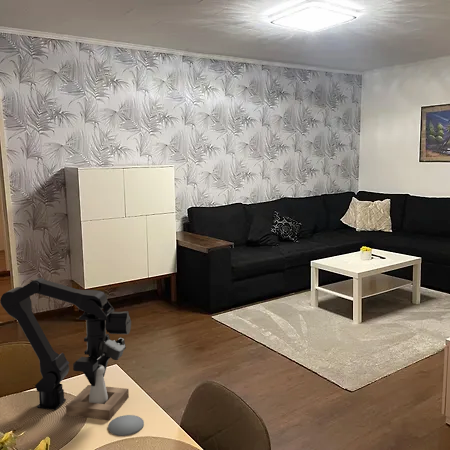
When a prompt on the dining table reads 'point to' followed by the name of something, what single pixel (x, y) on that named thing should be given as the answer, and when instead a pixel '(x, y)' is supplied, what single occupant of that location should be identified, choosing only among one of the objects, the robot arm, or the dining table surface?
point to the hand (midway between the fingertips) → (97, 381)
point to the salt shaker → (99, 388)
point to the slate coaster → (126, 425)
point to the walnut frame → (95, 410)
